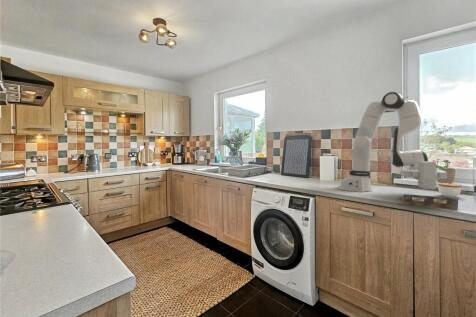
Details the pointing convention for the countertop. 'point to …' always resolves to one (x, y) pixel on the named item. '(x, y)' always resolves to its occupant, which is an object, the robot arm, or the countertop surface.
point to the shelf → (430, 201)
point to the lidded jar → (449, 189)
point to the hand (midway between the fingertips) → (426, 175)
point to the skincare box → (427, 175)
